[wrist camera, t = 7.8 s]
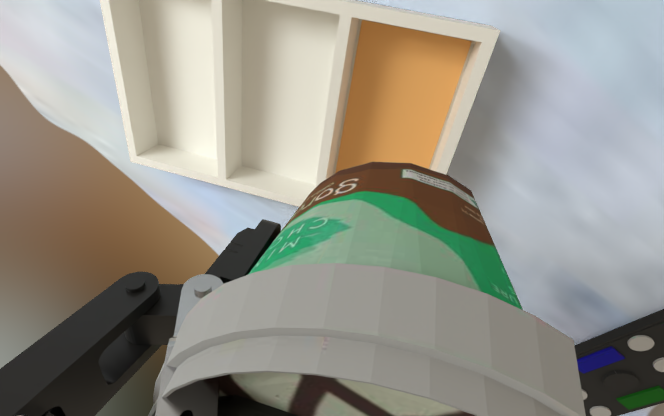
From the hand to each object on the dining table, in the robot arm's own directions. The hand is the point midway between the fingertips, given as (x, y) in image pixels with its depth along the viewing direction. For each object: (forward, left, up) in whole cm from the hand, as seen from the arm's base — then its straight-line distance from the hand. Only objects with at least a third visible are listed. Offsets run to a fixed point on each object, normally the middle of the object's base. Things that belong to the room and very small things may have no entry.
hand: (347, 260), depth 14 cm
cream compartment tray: (-9, 0, -19) cm, 21 cm away
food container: (-1, 0, -3) cm, 3 cm away
